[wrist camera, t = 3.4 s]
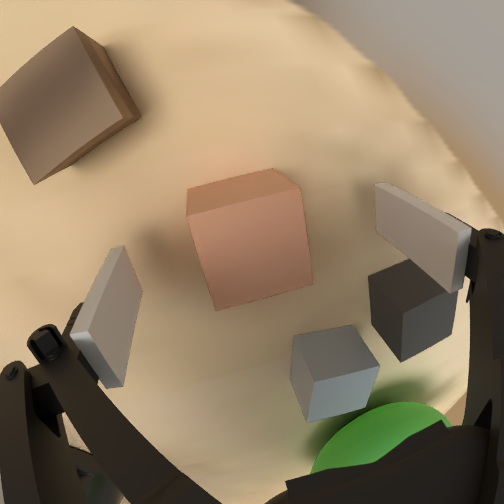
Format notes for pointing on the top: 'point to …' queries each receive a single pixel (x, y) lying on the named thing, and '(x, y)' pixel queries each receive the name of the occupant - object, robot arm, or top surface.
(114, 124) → the walnut cube
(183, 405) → the top surface
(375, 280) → the black rubber cube
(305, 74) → the top surface
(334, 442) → the toy bird
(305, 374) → the slate grey cube
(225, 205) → the terracotta cube
